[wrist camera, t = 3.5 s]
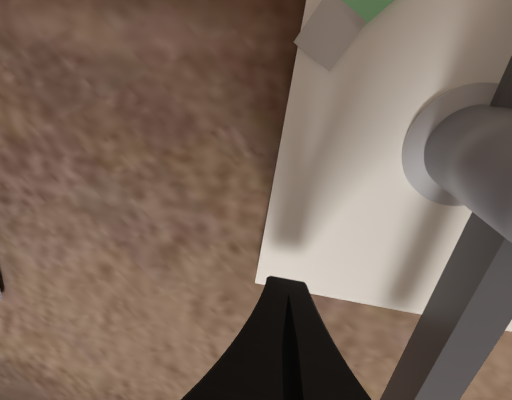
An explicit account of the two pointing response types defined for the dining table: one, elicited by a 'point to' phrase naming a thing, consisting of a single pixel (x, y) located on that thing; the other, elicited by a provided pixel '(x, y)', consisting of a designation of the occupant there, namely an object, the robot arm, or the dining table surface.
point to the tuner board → (376, 144)
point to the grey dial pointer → (466, 254)
